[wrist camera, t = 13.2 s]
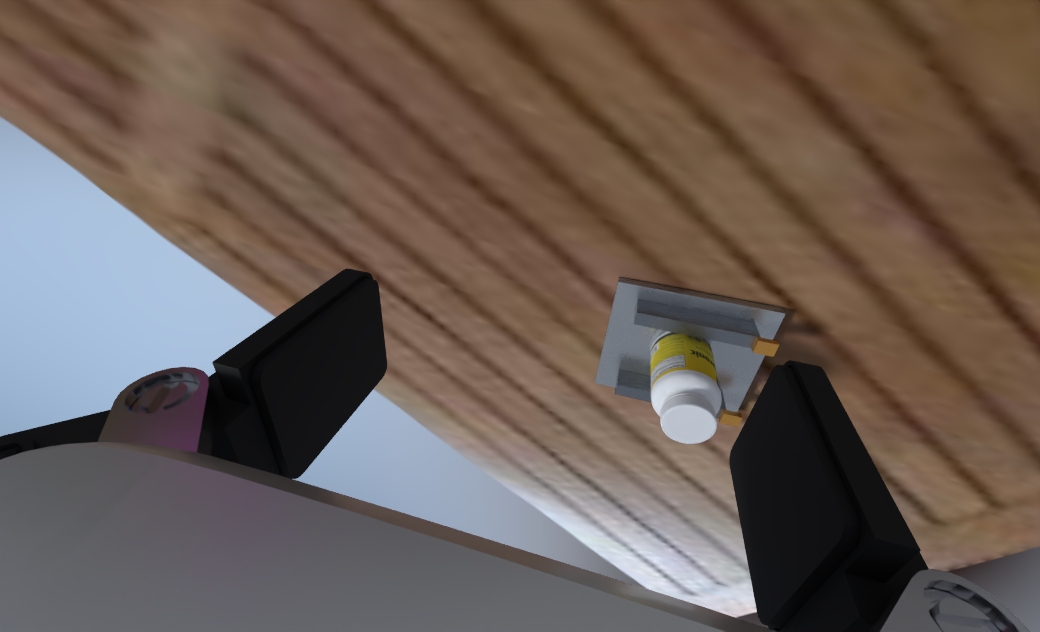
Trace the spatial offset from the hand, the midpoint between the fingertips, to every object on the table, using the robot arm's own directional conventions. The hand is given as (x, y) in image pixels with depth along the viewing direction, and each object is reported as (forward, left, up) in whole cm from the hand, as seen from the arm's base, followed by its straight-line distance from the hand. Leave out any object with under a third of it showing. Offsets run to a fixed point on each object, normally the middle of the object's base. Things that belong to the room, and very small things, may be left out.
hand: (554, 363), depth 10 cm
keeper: (-9, +17, -28) cm, 34 cm away
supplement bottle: (-9, +17, -28) cm, 33 cm away
